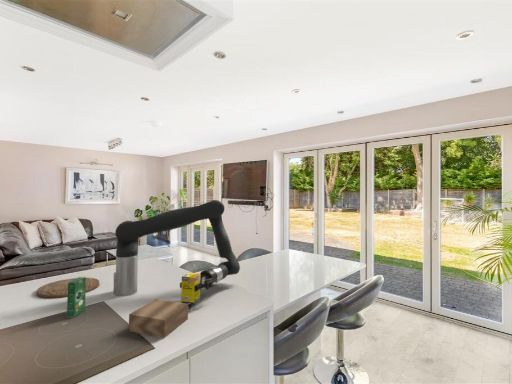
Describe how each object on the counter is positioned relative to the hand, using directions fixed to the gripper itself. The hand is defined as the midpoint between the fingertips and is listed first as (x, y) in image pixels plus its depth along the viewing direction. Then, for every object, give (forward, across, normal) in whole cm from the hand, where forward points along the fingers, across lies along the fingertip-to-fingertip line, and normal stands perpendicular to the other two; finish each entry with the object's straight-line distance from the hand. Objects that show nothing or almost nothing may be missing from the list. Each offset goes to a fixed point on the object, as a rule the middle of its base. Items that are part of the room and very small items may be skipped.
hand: (187, 287), depth 111 cm
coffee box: (+23, -34, +9) cm, 42 cm away
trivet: (+8, -65, +10) cm, 66 cm away
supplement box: (-2, 0, +7) cm, 7 cm away
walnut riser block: (+16, +1, +9) cm, 18 cm away
